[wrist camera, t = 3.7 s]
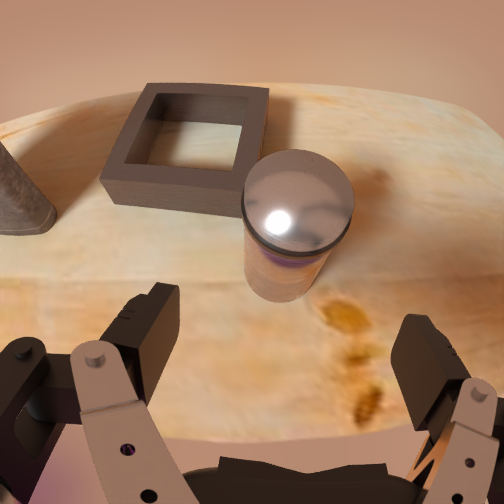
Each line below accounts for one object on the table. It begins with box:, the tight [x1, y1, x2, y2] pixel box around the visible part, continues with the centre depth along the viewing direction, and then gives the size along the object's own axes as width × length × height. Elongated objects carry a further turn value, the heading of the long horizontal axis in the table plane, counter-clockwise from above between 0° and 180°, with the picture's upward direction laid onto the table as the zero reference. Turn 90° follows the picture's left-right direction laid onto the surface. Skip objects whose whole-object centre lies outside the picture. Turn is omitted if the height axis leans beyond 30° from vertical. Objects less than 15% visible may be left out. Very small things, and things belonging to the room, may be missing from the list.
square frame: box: [99, 83, 269, 218], centre depth 25 cm, size 11×11×4 cm
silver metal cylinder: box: [241, 149, 354, 303], centre depth 18 cm, size 5×5×10 cm
